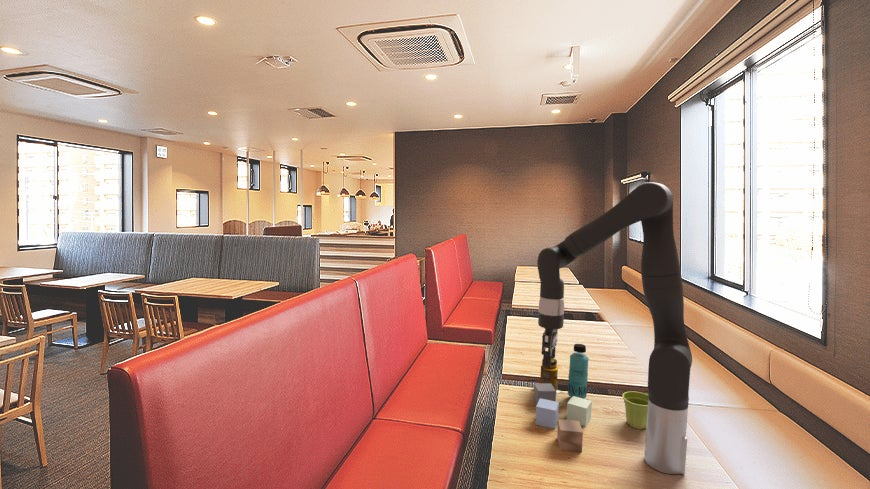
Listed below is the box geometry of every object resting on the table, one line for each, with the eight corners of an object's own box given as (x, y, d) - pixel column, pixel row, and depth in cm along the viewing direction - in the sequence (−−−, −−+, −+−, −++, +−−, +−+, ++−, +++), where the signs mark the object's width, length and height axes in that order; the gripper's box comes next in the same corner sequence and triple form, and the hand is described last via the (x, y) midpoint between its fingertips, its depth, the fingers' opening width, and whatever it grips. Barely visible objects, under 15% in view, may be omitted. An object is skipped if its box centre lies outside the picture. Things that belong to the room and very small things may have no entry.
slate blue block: (558, 419, 133) (558, 402, 133) (555, 429, 128) (555, 410, 127) (539, 415, 136) (539, 398, 135) (535, 424, 130) (536, 406, 130)
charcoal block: (550, 399, 147) (551, 383, 146) (555, 408, 141) (556, 391, 140) (533, 399, 147) (534, 383, 146) (537, 407, 141) (538, 391, 140)
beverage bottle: (565, 394, 150) (568, 341, 148) (584, 395, 150) (587, 342, 148) (569, 403, 144) (571, 347, 142) (588, 404, 143) (591, 348, 141)
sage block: (590, 418, 134) (591, 401, 133) (585, 426, 129) (586, 408, 129) (572, 413, 138) (573, 395, 137) (566, 420, 133) (567, 403, 132)
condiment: (561, 392, 153) (563, 360, 151) (546, 398, 148) (547, 365, 147) (546, 384, 159) (547, 354, 157) (530, 390, 154) (532, 359, 153)
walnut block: (578, 440, 122) (579, 421, 121) (581, 452, 116) (582, 432, 115) (557, 438, 123) (557, 419, 122) (559, 450, 117) (560, 430, 116)
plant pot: (653, 435, 124) (655, 408, 124) (619, 427, 129) (621, 400, 128) (654, 421, 133) (655, 395, 132) (621, 414, 137) (623, 388, 136)
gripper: (560, 318, 120) (558, 372, 122) (566, 307, 133) (564, 356, 134) (534, 315, 123) (532, 368, 125) (543, 304, 136) (541, 352, 138)
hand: (549, 362), depth 130 cm, fingers open, 8 cm apart
